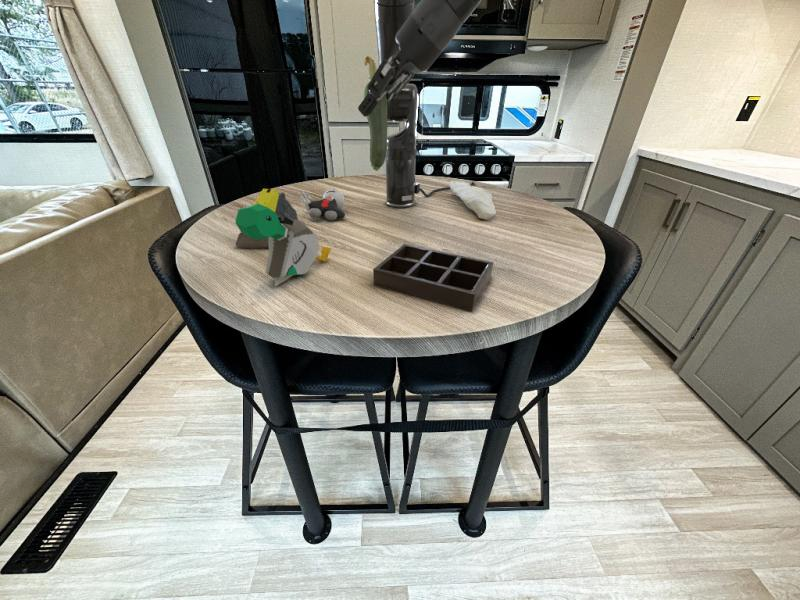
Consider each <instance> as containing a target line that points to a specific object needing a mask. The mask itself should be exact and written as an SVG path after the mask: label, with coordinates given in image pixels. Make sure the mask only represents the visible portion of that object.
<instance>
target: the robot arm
mask: <svg viewBox="0 0 800 600" xmlns="http://www.w3.org/2000/svg"><path fill="white" fill-rule="evenodd" d="M482 1H483V0H419V2H418V3H417V4H416V6H415V2H416V0H373V9H374V10H373V11H374V21H375V22H374V23H375V33H376V43H377V44H376V45H377V59H378V67H377V71H376V72H375V74H374V76H373V78H372V79H370V81H369V82H370V83H369V82H368V83H369V84H368V83H367V84H368V86H367V89H368V91H369V93H368V94H367V96H366V97H365V98H364V97H363V100H362V101H361V102H360V104H359V105H358V107H357V110H358V111H359V112H360V114H361V115H362V116H363V117H366V118H367V116H368V115H369V114H370V112H371V111H372V110H373V109H374V107H375V106H376V105H377V103H378V102H379V101H380V100H381V99H382V98H383V96H384V95H385V94H386V98H387V122H388V123H389V122H391V123H395V122H397V123H399V122H400V123H402V122H405V126H404V127H403V128H402V129H401V130H399V131H397V132H395V133H392V134H389V135H387V152H386V158H385V181H386V183H385V184H386V187H385V189H386V202H385V203H386V205H387V206H389V207H391V208H398V209H403V208H404V209H405V208H410V207H413V206H414V205H415V204H416V203H415V202H416V200H415V198H416V197H415V196H416V195H417V194H419V193H422V195H423V196H424V197H426V198H429V197H432V195H433V194H434V193H435V192H441V191H445V190H447V191H448V190H451V189H450V186H447V187H440V188H436V189H433V190H431V191H430V193H428V194H427V193H426V192H425V191H424V190H423V188H420V187H421V183H420V182H419V183H418V182H416V156H417V154H416V153H417V147H416V146H417V121H418V109H419V108H418V107H419V91H418V88H417V85H416V84H414V83H410V81H411V80H412V79H413V78H414V76H415V73H414V69H415V68H416V69H417V70H418V71H420V72H421V73H426V72H427V71H428V70H429V69H430V68H431V67H432V65H433V64H434V62H436V60H437V59H438V58H439V56H440V55H441V54H442V53H443V52H444V51H445V49H446V48H447V47H448V45H449V44H450V43H451V42H452V41H453V39H454V38H455V36H456V35H457V33H459V30H460V29H461V27H463V24H465V22H466V21H467V20H468V18H470V16H471V14H473V13H474V11H475V10H476V8H477V7H478V6H479V4H480V3H481V2H482ZM378 85H380V88H379V90H378V89H377V88H376V87H377V86H378ZM469 185H470V186H475V185H476V184H475V182H474V181H471V183H469Z"/></svg>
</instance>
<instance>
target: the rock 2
mask: <svg viewBox="0 0 800 600" xmlns="http://www.w3.org/2000/svg"><path fill="white" fill-rule="evenodd" d="M449 187H450V189H449V190H451V191H452V192H453V194H454V195H455V196H457V197H459V198H460V199H461V201H463V203H464V205H465V206H466V207H467V208H468V209H469V210H471V211H473V212H474V213H475V214H476V215H477V217H478V218H479V219H482V220H491V218H493V217H494V216H496V215H497V211H496V206H495V204H494V203H493V194H492V193H490V192H488V190H486V189H484V188H482V187H477V186H474V185H472V186H470V183H468V182H465V181H461V180H451V181H449Z"/></svg>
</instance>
